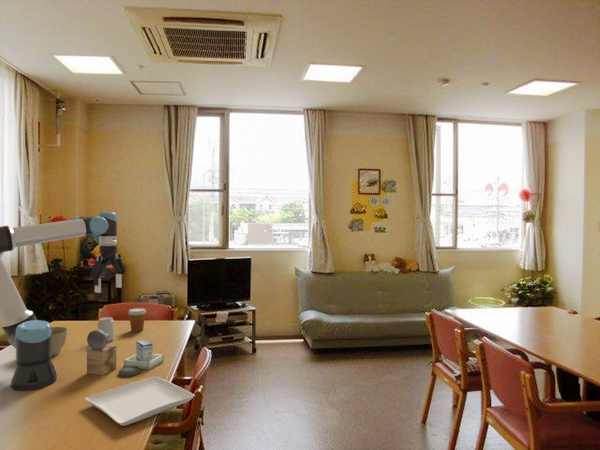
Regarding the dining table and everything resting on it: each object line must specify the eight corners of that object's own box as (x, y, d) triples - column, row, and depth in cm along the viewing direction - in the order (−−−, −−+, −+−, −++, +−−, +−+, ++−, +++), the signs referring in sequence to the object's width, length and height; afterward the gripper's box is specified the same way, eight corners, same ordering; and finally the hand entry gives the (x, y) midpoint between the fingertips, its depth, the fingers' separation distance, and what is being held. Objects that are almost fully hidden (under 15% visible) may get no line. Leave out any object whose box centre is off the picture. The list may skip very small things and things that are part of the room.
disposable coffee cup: (127, 329, 239) (127, 308, 239) (145, 327, 243) (145, 307, 243) (128, 333, 230) (128, 312, 230) (146, 331, 234) (146, 310, 234)
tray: (148, 369, 177) (148, 362, 177) (124, 366, 180) (124, 359, 180) (163, 361, 187) (163, 354, 187) (139, 358, 191) (139, 352, 191)
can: (107, 343, 213) (107, 320, 213) (94, 342, 214) (94, 319, 214) (116, 339, 220) (116, 316, 220) (104, 338, 222) (104, 316, 222)
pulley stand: (102, 375, 171) (102, 331, 170) (86, 373, 173) (86, 330, 172) (116, 368, 178) (116, 326, 178) (101, 366, 181) (100, 325, 180)
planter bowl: (30, 351, 200) (29, 329, 200) (68, 346, 207) (68, 325, 207) (25, 362, 186) (25, 338, 185) (67, 356, 193) (66, 333, 193)
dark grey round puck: (130, 378, 168) (130, 374, 168) (114, 375, 170) (114, 372, 170) (143, 370, 176) (143, 367, 176) (127, 368, 178) (127, 365, 178)
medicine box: (135, 360, 185) (135, 341, 185) (145, 358, 188) (145, 339, 188) (142, 365, 179) (142, 345, 179) (153, 362, 182) (152, 343, 182)
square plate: (196, 404, 145) (196, 393, 145) (119, 435, 125) (119, 422, 125) (156, 383, 163) (156, 373, 163) (83, 407, 143) (83, 396, 143)
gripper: (94, 247, 182) (95, 295, 183) (132, 243, 206) (133, 285, 206) (80, 246, 184) (81, 294, 185) (120, 243, 208) (120, 285, 209)
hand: (108, 289), depth 196 cm, fingers open, 13 cm apart
